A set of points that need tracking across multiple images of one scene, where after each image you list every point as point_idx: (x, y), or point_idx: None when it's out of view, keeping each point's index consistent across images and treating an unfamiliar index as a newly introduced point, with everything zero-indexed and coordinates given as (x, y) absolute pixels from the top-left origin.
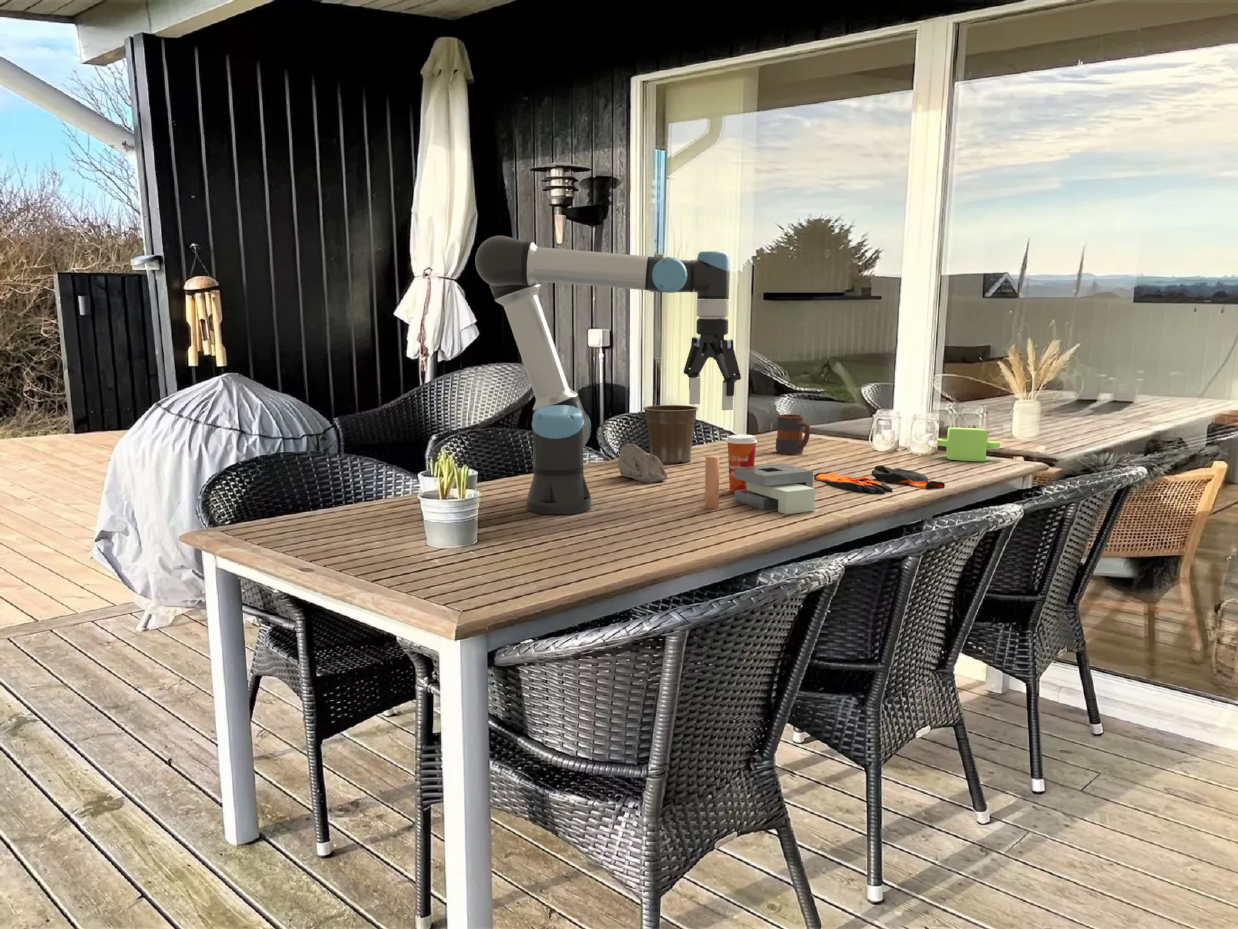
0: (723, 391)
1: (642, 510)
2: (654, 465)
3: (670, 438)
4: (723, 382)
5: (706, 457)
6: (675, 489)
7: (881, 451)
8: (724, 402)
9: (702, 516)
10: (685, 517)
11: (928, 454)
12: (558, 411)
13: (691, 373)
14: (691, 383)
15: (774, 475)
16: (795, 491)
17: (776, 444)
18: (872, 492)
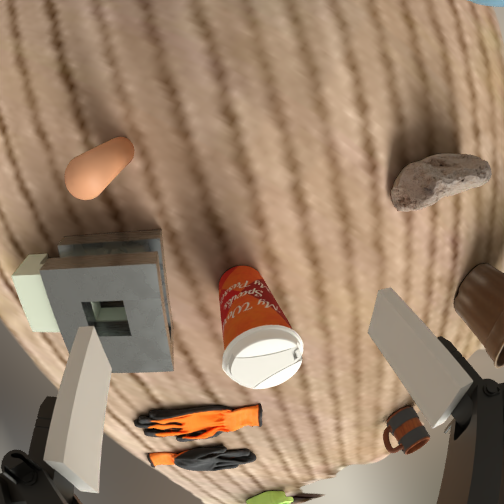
0: (60, 409)
1: (168, 5)
2: (414, 185)
3: (488, 299)
4: (21, 451)
5: (83, 154)
6: (324, 176)
7: (337, 468)
8: (70, 360)
9: (58, 98)
10: (66, 62)
11: (300, 485)
12: None
13: (478, 409)
14: (441, 365)
15: (47, 295)
16: (18, 293)
17: (412, 412)
18: (139, 417)
